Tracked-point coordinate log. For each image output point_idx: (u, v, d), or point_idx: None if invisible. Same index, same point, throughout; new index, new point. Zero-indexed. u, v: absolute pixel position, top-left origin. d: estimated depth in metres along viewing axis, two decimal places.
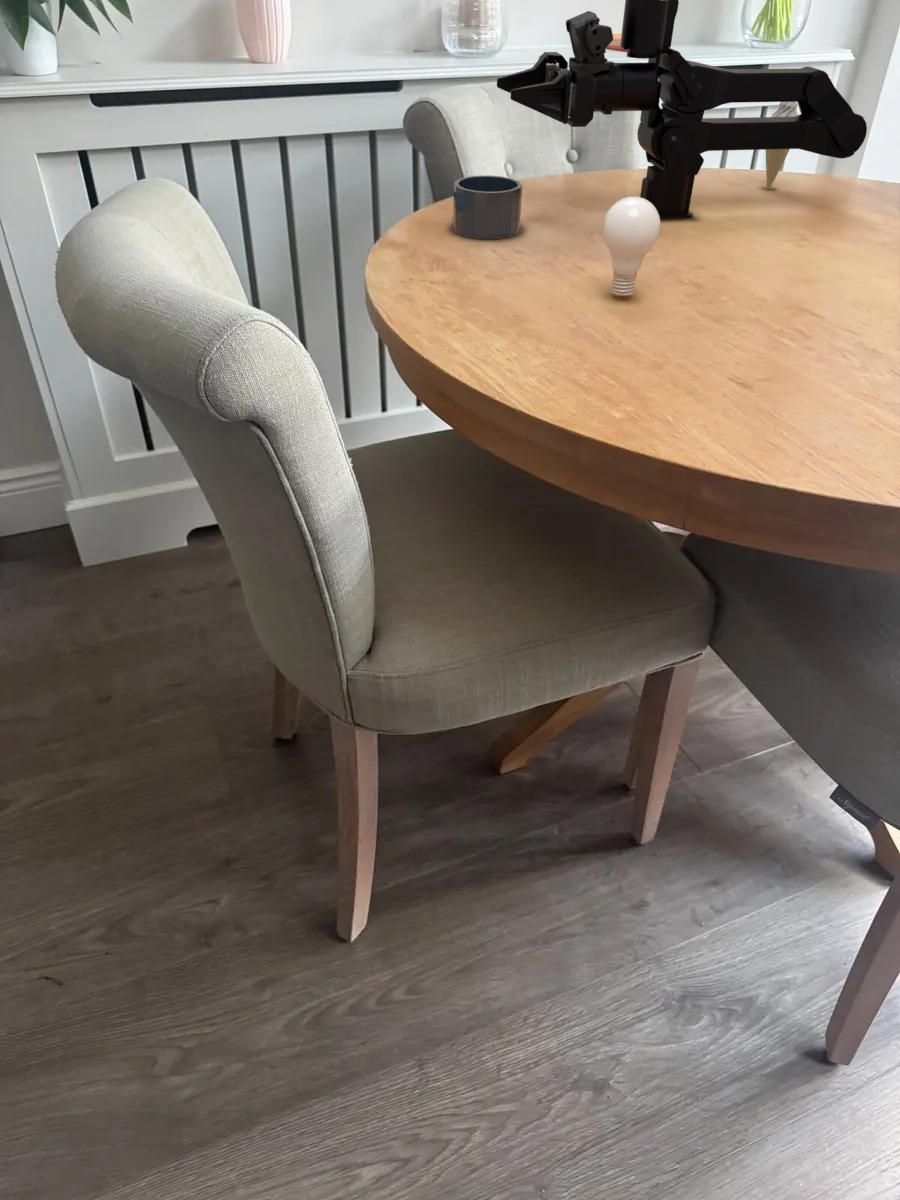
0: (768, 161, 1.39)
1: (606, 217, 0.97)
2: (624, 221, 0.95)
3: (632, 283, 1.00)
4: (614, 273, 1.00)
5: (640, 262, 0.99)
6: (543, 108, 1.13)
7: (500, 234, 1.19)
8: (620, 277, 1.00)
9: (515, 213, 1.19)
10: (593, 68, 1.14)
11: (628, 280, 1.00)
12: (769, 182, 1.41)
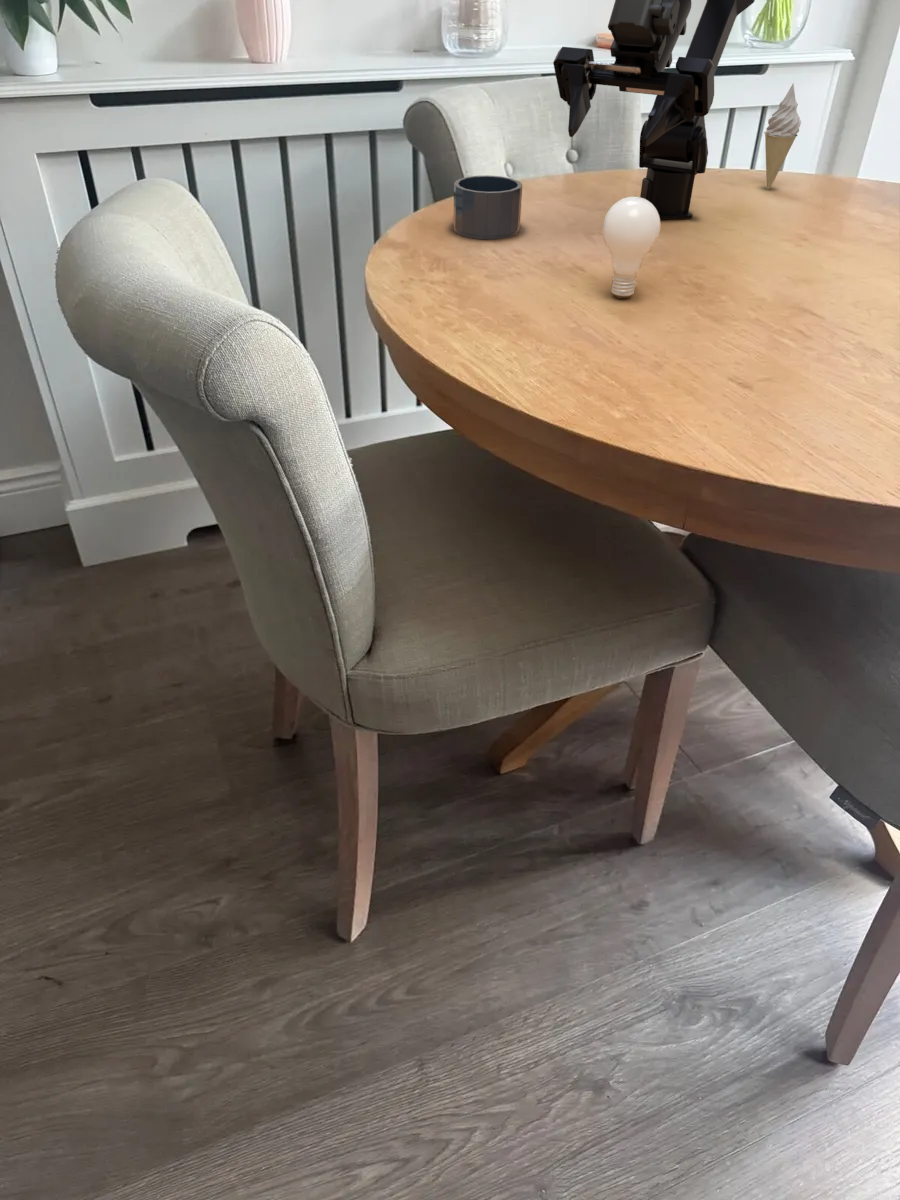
0: (768, 161, 1.39)
1: (606, 217, 0.97)
2: (624, 221, 0.95)
3: (632, 283, 1.00)
4: (614, 273, 1.00)
5: (640, 262, 0.99)
6: (669, 125, 1.01)
7: (500, 234, 1.19)
8: (620, 277, 1.00)
9: (515, 213, 1.19)
10: (663, 43, 0.99)
11: (628, 280, 1.00)
12: (769, 182, 1.41)
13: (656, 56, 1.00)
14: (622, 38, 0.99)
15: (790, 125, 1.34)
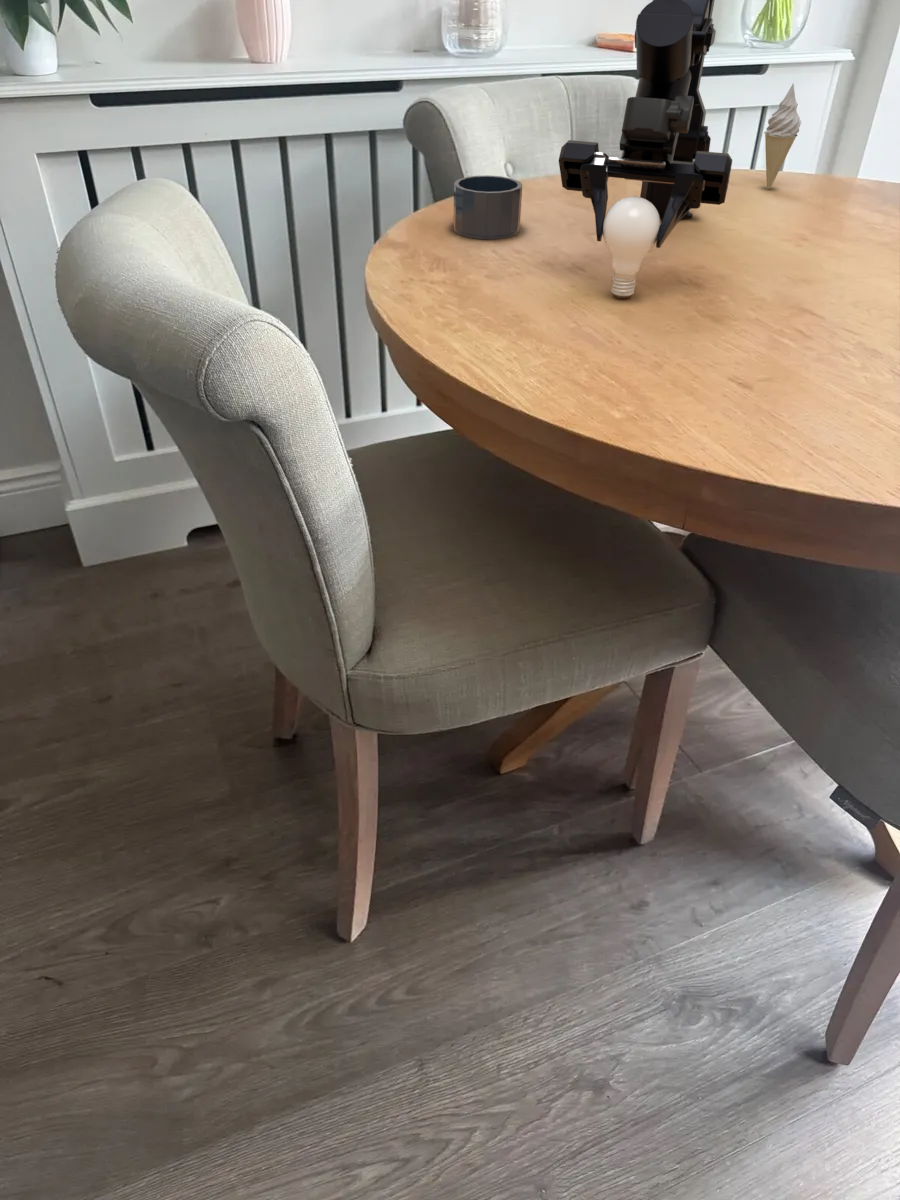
0: (768, 161, 1.39)
1: (606, 217, 0.97)
2: (624, 221, 0.95)
3: (632, 283, 1.00)
4: (614, 273, 1.00)
5: (640, 262, 0.99)
6: (677, 219, 0.98)
7: (500, 234, 1.19)
8: (620, 277, 1.00)
9: (515, 213, 1.19)
10: (675, 136, 0.95)
11: (628, 280, 1.00)
12: (769, 182, 1.41)
13: (670, 151, 0.95)
14: (633, 135, 0.94)
15: (790, 125, 1.34)
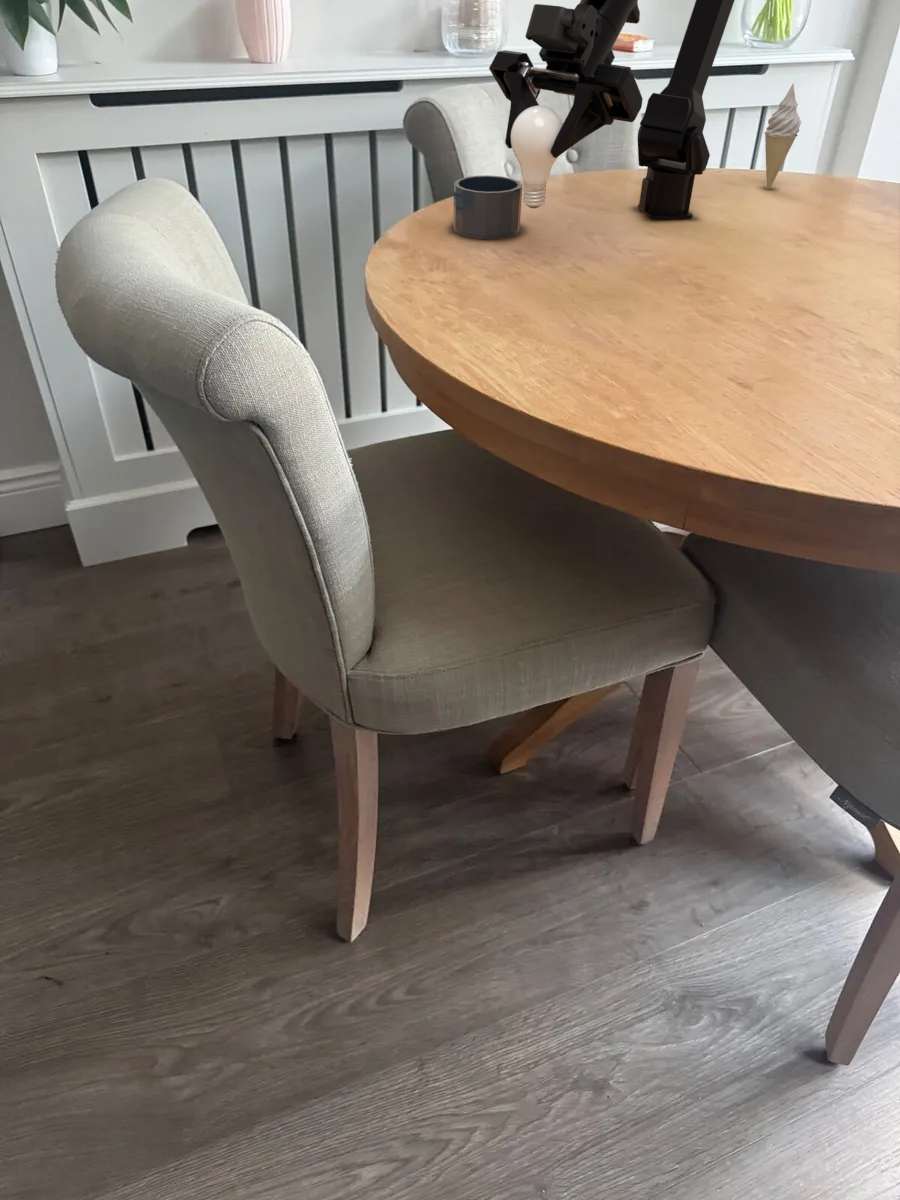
0: (768, 161, 1.39)
1: None
2: (520, 127, 0.99)
3: (538, 193, 1.04)
4: (524, 182, 1.05)
5: (543, 172, 1.02)
6: (584, 132, 1.00)
7: (500, 234, 1.19)
8: (526, 186, 1.04)
9: (515, 213, 1.19)
10: (589, 48, 0.97)
11: (533, 189, 1.04)
12: (769, 182, 1.41)
13: (580, 62, 0.97)
14: (546, 45, 0.98)
15: (790, 125, 1.34)
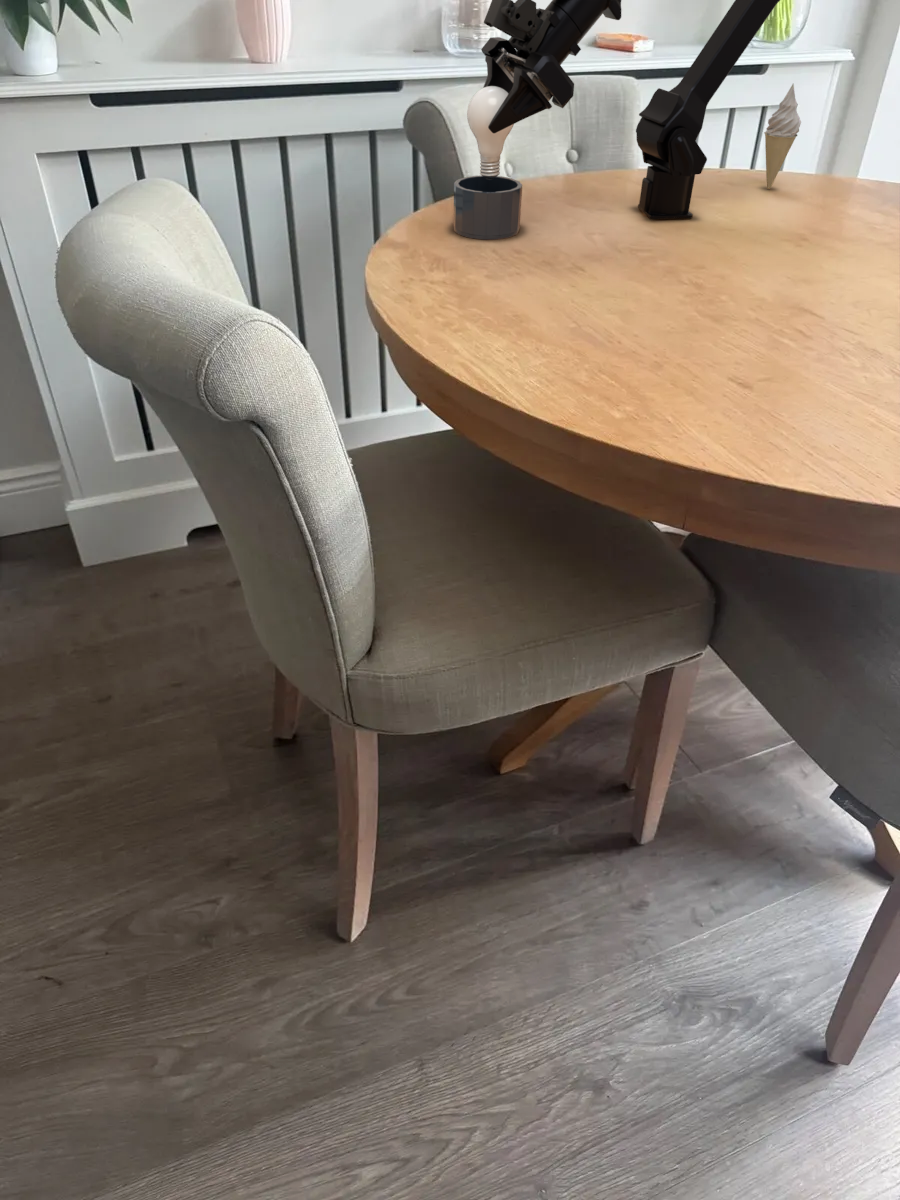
0: (768, 161, 1.39)
1: None
2: (469, 103, 1.12)
3: (488, 165, 1.16)
4: None
5: (490, 146, 1.14)
6: (523, 113, 1.10)
7: (500, 234, 1.19)
8: (480, 157, 1.17)
9: (515, 213, 1.19)
10: (537, 37, 1.07)
11: (483, 161, 1.16)
12: (769, 182, 1.41)
13: (529, 50, 1.08)
14: (508, 33, 1.10)
15: (790, 125, 1.34)
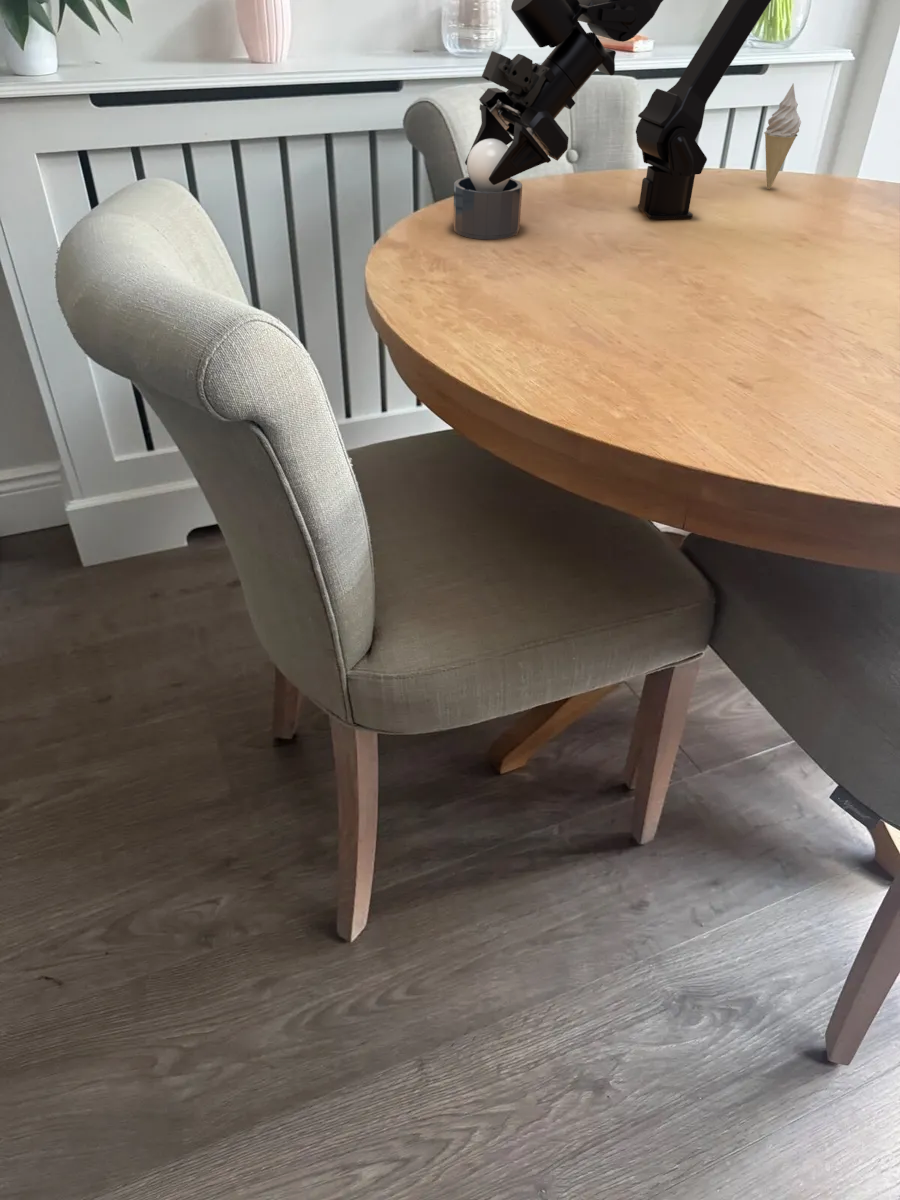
0: (768, 161, 1.39)
1: None
2: (469, 154, 1.16)
3: None
4: None
5: None
6: (523, 166, 1.13)
7: (500, 234, 1.19)
8: None
9: (515, 213, 1.19)
10: (533, 92, 1.11)
11: None
12: (769, 182, 1.41)
13: (525, 104, 1.12)
14: None
15: (790, 125, 1.34)
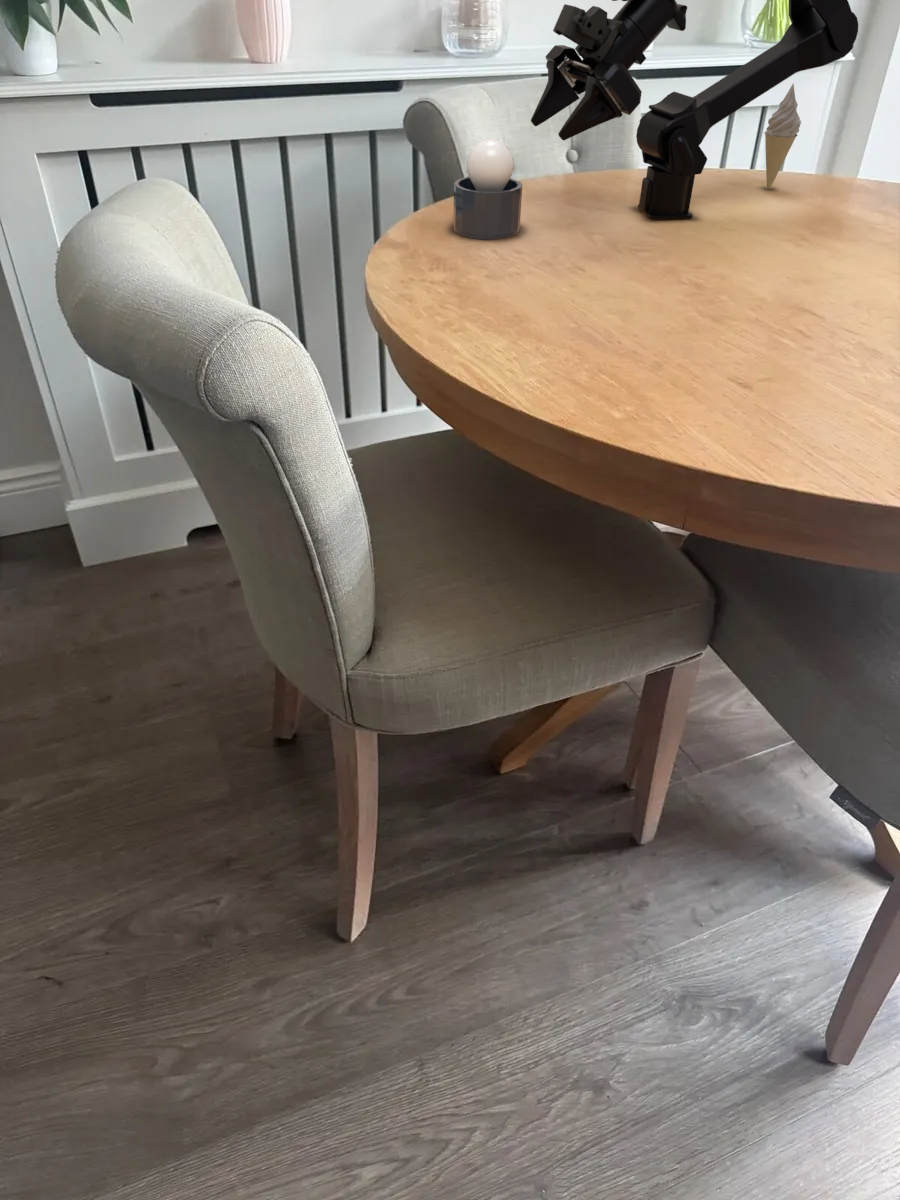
0: (768, 161, 1.39)
1: None
2: (469, 154, 1.16)
3: None
4: None
5: None
6: (594, 121, 1.12)
7: (500, 234, 1.19)
8: None
9: (515, 213, 1.19)
10: (606, 46, 1.10)
11: None
12: (769, 182, 1.41)
13: (597, 58, 1.11)
14: (576, 41, 1.13)
15: (790, 125, 1.34)
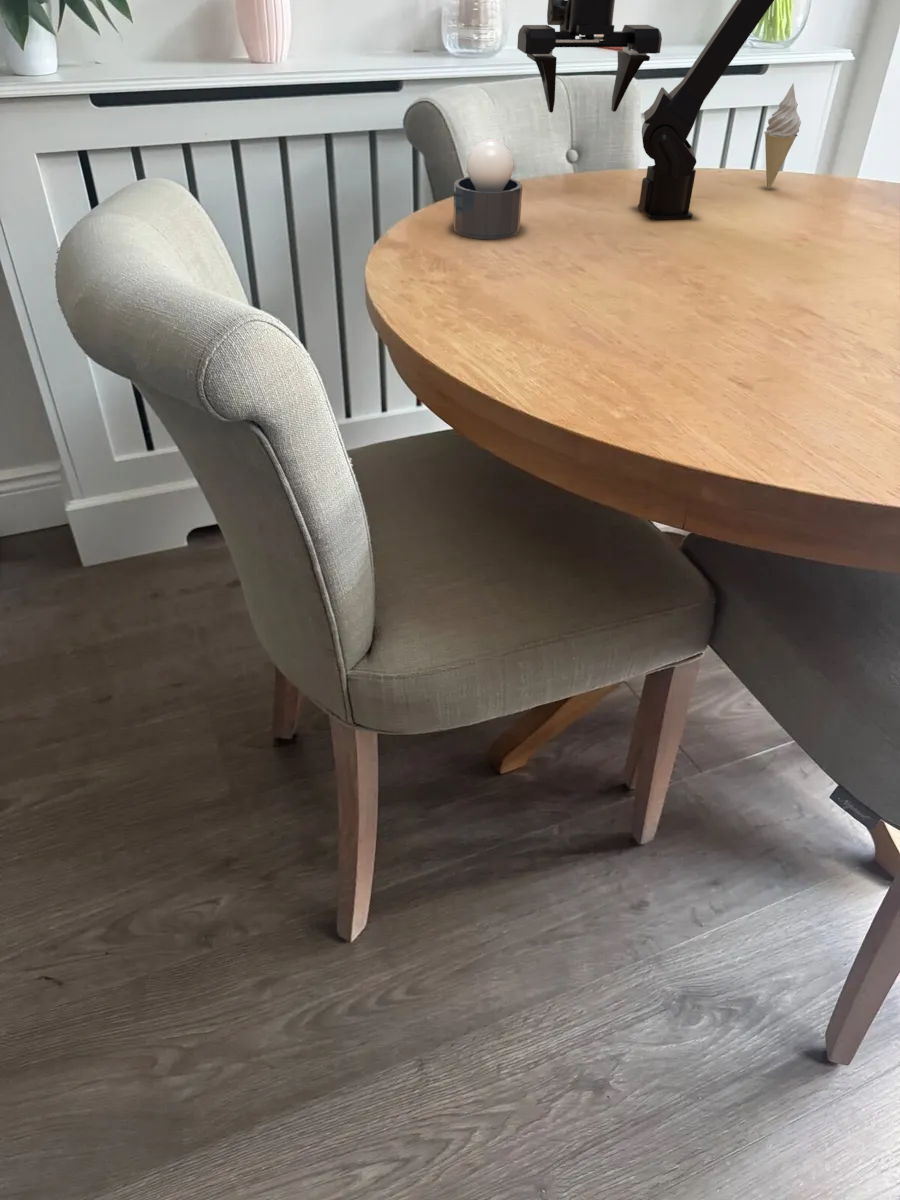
0: (768, 161, 1.39)
1: None
2: (469, 154, 1.16)
3: None
4: None
5: None
6: (545, 80, 1.19)
7: (500, 234, 1.19)
8: None
9: (515, 213, 1.19)
10: (565, 14, 1.18)
11: None
12: (769, 182, 1.41)
13: None
14: None
15: (790, 125, 1.34)
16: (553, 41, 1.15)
